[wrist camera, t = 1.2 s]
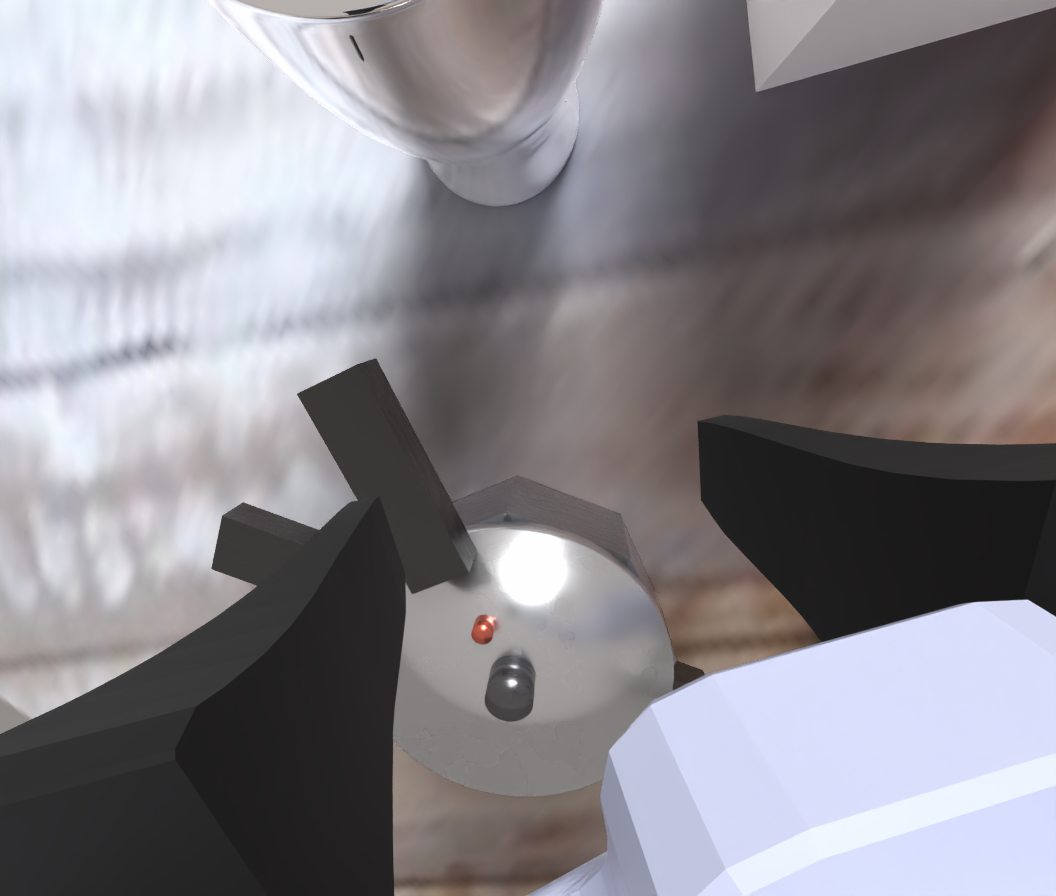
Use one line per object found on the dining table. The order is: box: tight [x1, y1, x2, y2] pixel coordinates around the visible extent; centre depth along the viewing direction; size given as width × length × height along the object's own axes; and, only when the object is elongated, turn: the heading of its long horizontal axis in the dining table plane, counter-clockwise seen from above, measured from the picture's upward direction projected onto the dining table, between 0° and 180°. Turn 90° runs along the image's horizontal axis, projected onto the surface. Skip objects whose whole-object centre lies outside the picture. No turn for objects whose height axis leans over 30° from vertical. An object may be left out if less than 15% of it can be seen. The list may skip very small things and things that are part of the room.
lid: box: [297, 359, 674, 797], centre depth 19 cm, size 19×12×2 cm, turn 25°
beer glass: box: [207, 0, 604, 206], centre depth 12 cm, size 7×7×15 cm
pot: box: [212, 476, 704, 691], centre depth 23 cm, size 21×12×4 cm, turn 70°
